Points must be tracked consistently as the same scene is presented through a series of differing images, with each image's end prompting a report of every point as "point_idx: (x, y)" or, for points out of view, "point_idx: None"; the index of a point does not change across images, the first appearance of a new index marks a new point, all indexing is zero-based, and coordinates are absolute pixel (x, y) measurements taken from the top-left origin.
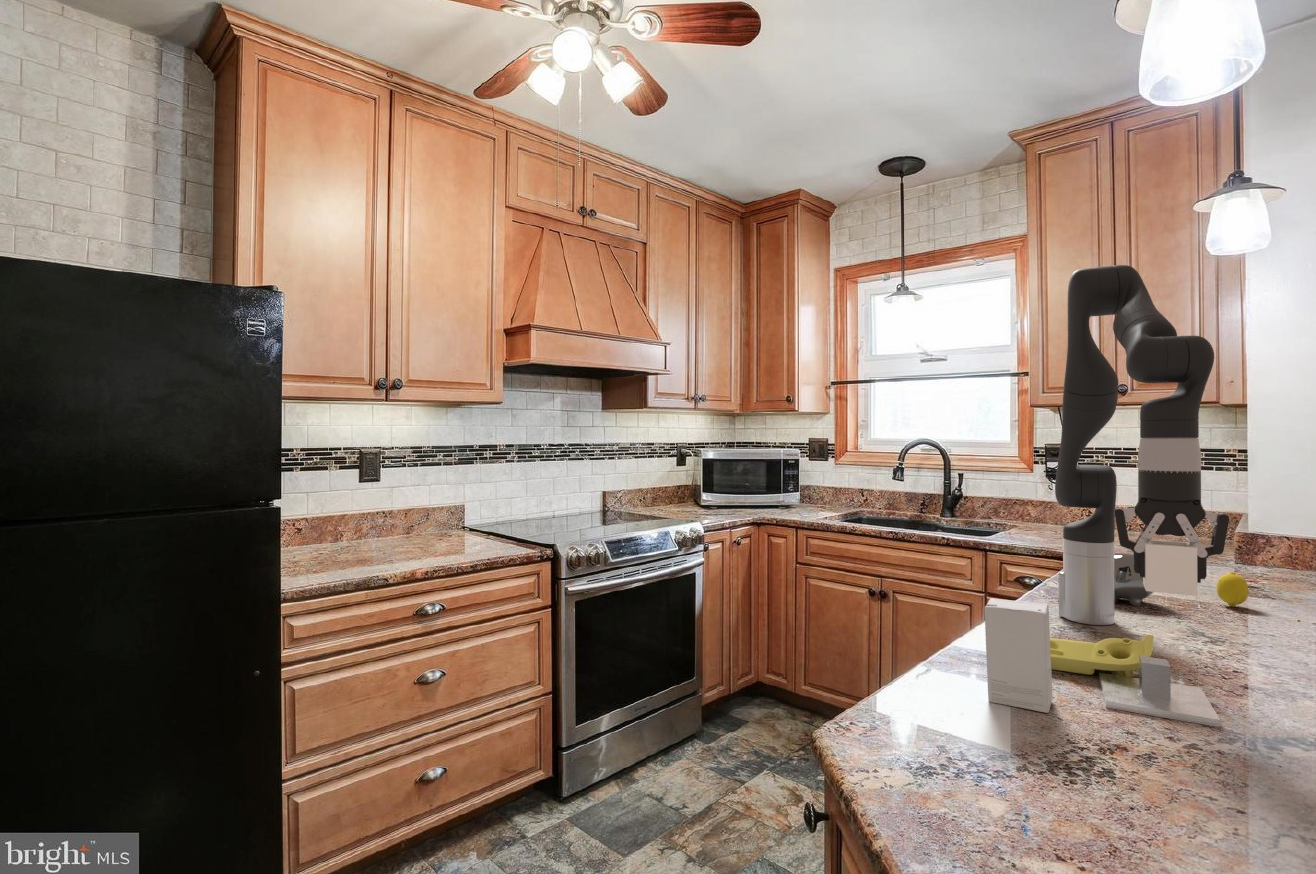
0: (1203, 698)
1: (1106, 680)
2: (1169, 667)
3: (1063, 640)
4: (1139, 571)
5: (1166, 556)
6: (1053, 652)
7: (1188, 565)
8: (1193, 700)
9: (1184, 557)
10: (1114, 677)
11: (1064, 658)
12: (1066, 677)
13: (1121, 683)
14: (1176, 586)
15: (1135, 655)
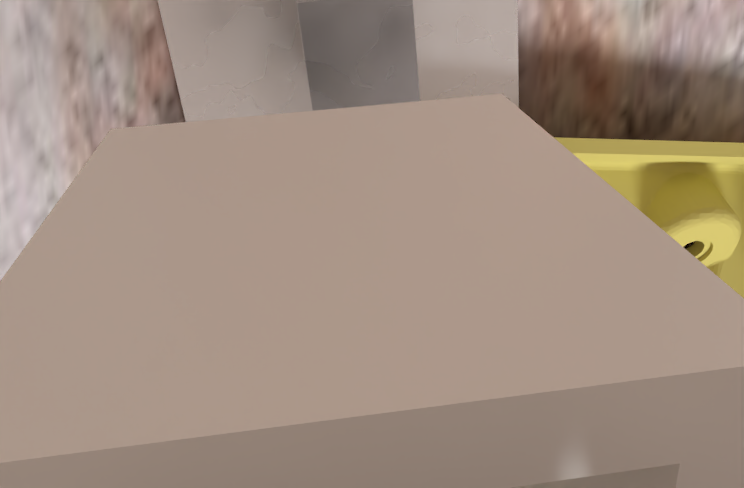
0: (192, 95)
1: (501, 86)
2: (301, 4)
3: None
4: None
5: (405, 280)
6: (683, 209)
7: (120, 255)
8: (221, 45)
9: (151, 319)
10: None
11: (656, 141)
12: (618, 102)
13: (452, 87)
14: (270, 133)
15: None
